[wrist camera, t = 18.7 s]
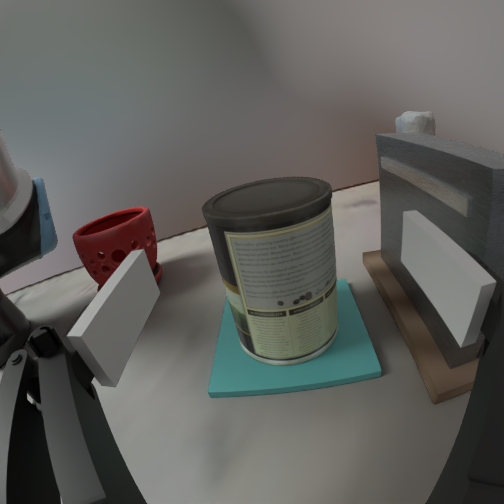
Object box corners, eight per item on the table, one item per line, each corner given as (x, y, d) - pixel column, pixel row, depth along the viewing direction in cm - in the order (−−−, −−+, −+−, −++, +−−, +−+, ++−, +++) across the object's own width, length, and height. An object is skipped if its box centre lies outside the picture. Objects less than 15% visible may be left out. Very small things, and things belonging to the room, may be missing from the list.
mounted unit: (362, 262, 38) (354, 134, 31) (423, 251, 37) (423, 130, 30) (433, 404, 17) (492, 179, 9) (516, 367, 16) (574, 177, 8)
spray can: (440, 218, 46) (438, 111, 37) (400, 217, 49) (394, 111, 41) (433, 204, 52) (430, 111, 44) (398, 203, 56) (392, 110, 47)
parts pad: (228, 300, 37) (226, 295, 36) (345, 284, 35) (345, 278, 34) (210, 397, 23) (207, 392, 23) (380, 376, 21) (381, 370, 21)
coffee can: (218, 342, 29) (176, 211, 23) (277, 290, 35) (257, 176, 29) (303, 383, 22) (281, 223, 16) (355, 312, 28) (351, 177, 22)
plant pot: (165, 299, 40) (137, 221, 34) (90, 315, 39) (57, 246, 34) (174, 259, 51) (154, 197, 46) (111, 275, 51) (89, 217, 45)
